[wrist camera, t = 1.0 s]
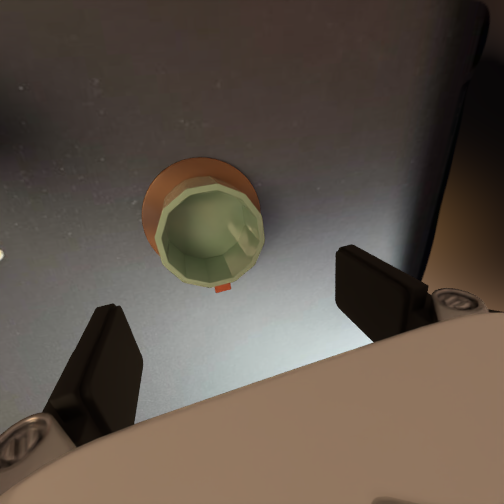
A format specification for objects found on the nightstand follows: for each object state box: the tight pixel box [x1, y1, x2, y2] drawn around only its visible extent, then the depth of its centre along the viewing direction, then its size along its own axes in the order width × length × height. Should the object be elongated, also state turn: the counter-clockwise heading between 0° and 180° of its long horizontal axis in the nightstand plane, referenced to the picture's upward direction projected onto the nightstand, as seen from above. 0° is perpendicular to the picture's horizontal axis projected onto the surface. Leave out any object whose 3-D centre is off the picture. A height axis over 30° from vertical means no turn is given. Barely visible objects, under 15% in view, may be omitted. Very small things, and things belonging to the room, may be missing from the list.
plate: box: [142, 157, 261, 256], centre depth 22 cm, size 10×10×1 cm
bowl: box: [155, 176, 265, 293], centre depth 19 cm, size 8×7×5 cm
